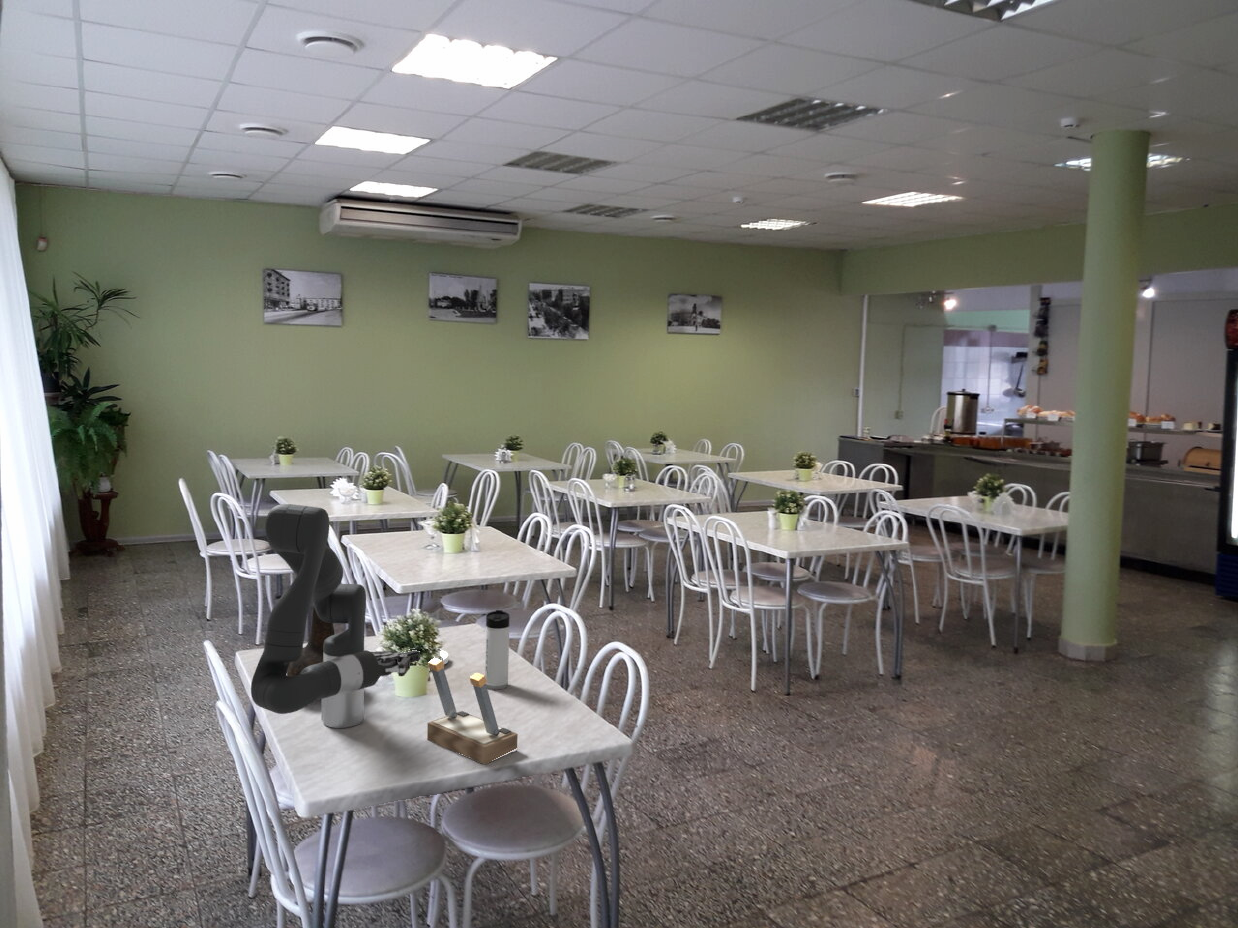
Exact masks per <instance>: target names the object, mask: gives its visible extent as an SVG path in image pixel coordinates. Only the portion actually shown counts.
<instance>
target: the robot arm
mask: <svg viewBox="0 0 1238 928" xmlns="http://www.w3.org/2000/svg"><path fill="white" fill-rule="evenodd" d="M264 521H265V523H264V532H265V533H264V534H265V538H266V541H267V542H268V544H269V547H271V549H272V551H274V552H275V553H276V554H277V555H278V556H279V557H280V558H281V559H282V560H284V561H285V563H286V564H287V565H288V567H290V569H291V571H292V572H293V573H294V575H295V578H294V580H293V581H292V582H291V584H290V586H288V587H287V589H286V590H285V592H284V593H283V594H282V595H281V597H279V599H278V600H277V601H276V603H275V604H274V606H273V607H272V609H271V611H270V613H269V616H268V620H267V623H266V624H267V625H266V631H265V632H266V633H265V639H264V644H263V645H264V647H263V652H262V654H261V656H260V658H259V661H258V663H257V666H256V668H255V670H254V674H253V675H252V679H251V684H250V694H251V698H252V701H253V703H254V704H255V705H256V706H258V707H260V708H262V709H265V710H267V711H270V712H272V713H275V714H277V715H287V714H291V713H296V712H298V711H299V710H302V709H304V708H306V707H308V706H310V705H312V704H313V703H315V702H316V701H318V700H321V703H320V704H321V705H320V708H321V713H320V714H321V717H320V719H321V720H322V723H323V725H324V726H326V727H330V728H336V729H338V728H339V729H340V728H341V729H342V728H351V727H354V726H357V725H359V724H361V723H362V722H363V721H364V709H365V707H364V705H365V704H364V695H365V694H364V693H365V692H364V691H365V689H366V688H370V687H374V686H375V685H376V684H377V683H378V681H379V679H380V678H381V677H387V676H390V675H391V674H393V673H397V674H398V677H404V676H405V675H406V674H407V672H408V671H409V670H410V669H411V668H410V663H413V662H417V661H419V660H420V651H417V650H412V651H408V652H404V653H403V654H402V652H403V651H398V652H396V651H394V650H385V651H384V650H383V651H382V650H381V651H377V650H376V651H370V650H365V634H366V633H365V632H366V631H365V629H366V610H367V592H366V589H365V586H363V585H362V584H357V583H342V580H343V578H344V567H343V565H342V562H341V561H340V559H339V557H338V555H337V554H336V552H335V551H334V550H333V549H332V548H331V547H330V546H328V545H327V544H328V539H329V534H330V517H329V514H328V512H327V510H326V509H324V508H322V507H317V506H309V505H300V504H293V503H292V504H291V503H283V504H278V505H275V506H274V507H272V508H270V510H269V512H268V513H267V515H266V518H265V520H264ZM311 602H312V606H313V605H314V608H315V610H316V613H317V615H318V617H319V618H320V619H321V620H322V621H324V622H327V623H333V624H348V628H347V629H346V630H344V631H342V632H338V633H335V635H332V636H330V637H328V638H326V639H325V641H324V645H323V662H322V663H318V664H314V665H310V666H308V667H306V668H304V669H303V670H302V672H301V673H300V675H295V676H287V670H288V667H289V665H290V662H294V661H297V660H298V659H299V658H300V656H301V654H302V649H303V648H304V642H305V635H306V627H307V620H308V614H309V610H310V607H311V606H310V605H311Z"/></svg>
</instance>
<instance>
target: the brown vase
mask: <svg viewBox="0 0 1238 928" xmlns="http://www.w3.org/2000/svg"><path fill="white" fill-rule="evenodd" d="M311 612H312V614H311V616H312V617H311V623H310V624H311V625H310V631H309V637H308V641H307V643H306V645H305V646H303V649H302V654H301V656H300V658H299V659H298V660H297V661H294V662H290V665H289V667H288V670H287V674H286V675H287V676H295V675H300V673H301V672H302V670H303V669H304V668H306V667H308V666H310V665H314V664H318V663H322V662H323V645H324V641H325V639H326V638H328V637H330V636H332V635H335V634H336V633H335V629H334V623H327V622H324V621H322V620H321V619H320V618H319V617H318V615H317V613H316V610H315V608H314V605H313V604H312V611H311Z"/></svg>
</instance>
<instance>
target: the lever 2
mask: <svg viewBox="0 0 1238 928" xmlns="http://www.w3.org/2000/svg"><path fill="white" fill-rule="evenodd" d="M469 681H470V684H471V686H473V690H474V692H475V697H476V700H477V705H478V706H479V710H480V714H481V717H482V718H481V719H482V720H483V721H484V725H485V728H486V732H487V733H489V734H492V735H495V736H498V735H499V728H498V726H499V725H498V722H497V717H496V715H495V710H494V708H493V705H492V704H493V703H492V701H491V697H490V693H489V689H488V688H487V686H486V683H487V681H486V678H485V674H482V673H478V672H475V673H473V674H472V675H470V677H469Z"/></svg>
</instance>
